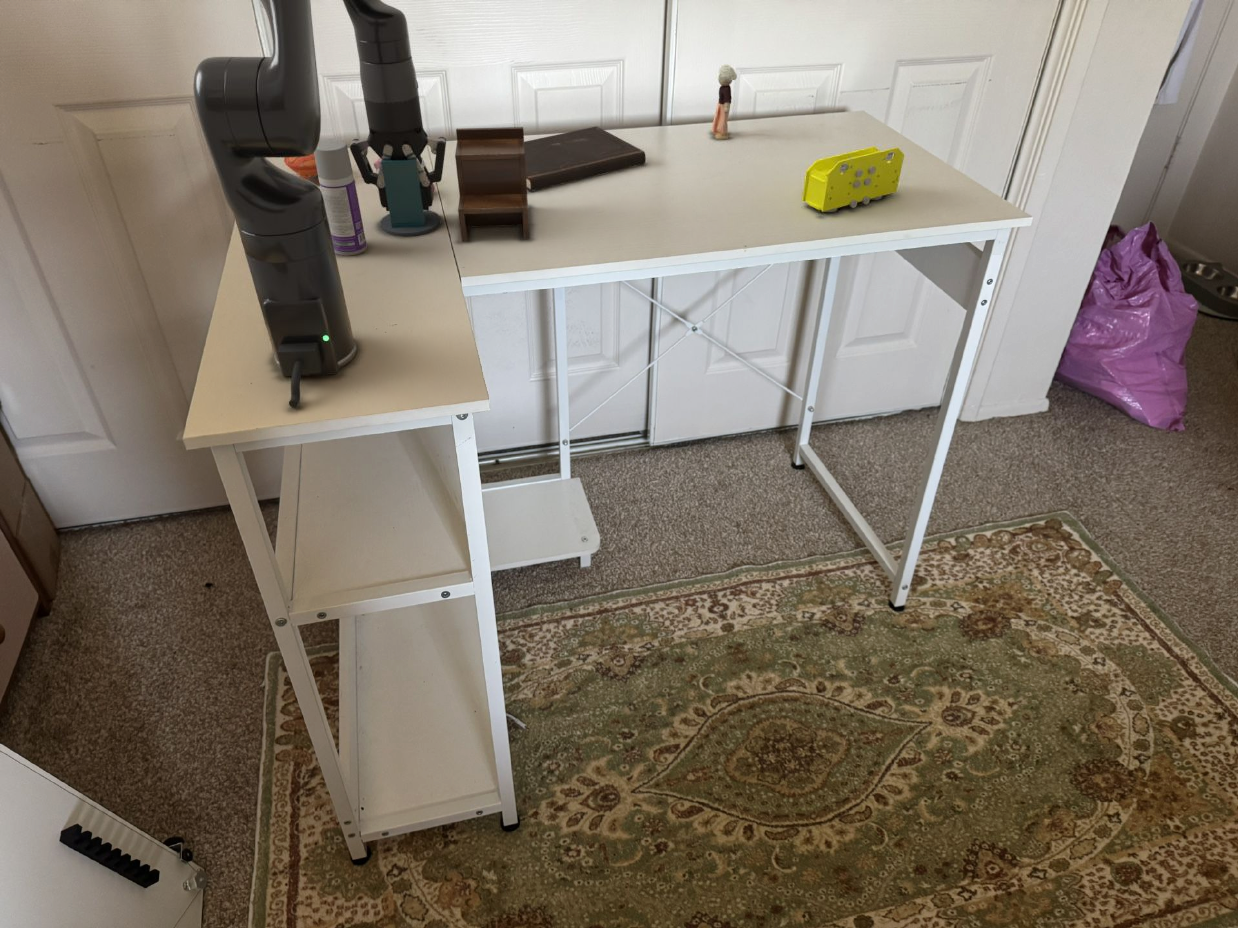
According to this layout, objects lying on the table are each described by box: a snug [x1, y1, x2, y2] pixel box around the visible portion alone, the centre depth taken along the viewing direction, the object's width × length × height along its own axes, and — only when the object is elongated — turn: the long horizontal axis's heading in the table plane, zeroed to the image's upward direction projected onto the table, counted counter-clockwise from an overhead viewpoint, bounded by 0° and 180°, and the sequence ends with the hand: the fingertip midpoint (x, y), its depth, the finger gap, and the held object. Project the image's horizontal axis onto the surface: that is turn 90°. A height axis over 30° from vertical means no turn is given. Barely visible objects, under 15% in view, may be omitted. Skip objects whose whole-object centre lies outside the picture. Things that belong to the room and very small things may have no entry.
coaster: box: [380, 209, 442, 237], centre depth 133 cm, size 9×9×1 cm
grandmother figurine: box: [710, 64, 738, 140], centre depth 160 cm, size 8×4×13 cm, turn 10°
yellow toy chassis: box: [801, 146, 905, 213], centre depth 138 cm, size 16×6×8 cm, turn 121°
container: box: [314, 138, 368, 256], centre depth 121 cm, size 5×5×15 cm
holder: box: [381, 159, 428, 228], centre depth 129 cm, size 5×5×10 cm
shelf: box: [454, 126, 530, 242], centre depth 129 cm, size 12×10×12 cm
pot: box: [283, 153, 318, 180], centre depth 145 cm, size 8×8×7 cm
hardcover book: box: [524, 125, 647, 192], centre depth 152 cm, size 16×23×2 cm
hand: (408, 208), depth 131 cm, fingers closed on holder, 5 cm apart
